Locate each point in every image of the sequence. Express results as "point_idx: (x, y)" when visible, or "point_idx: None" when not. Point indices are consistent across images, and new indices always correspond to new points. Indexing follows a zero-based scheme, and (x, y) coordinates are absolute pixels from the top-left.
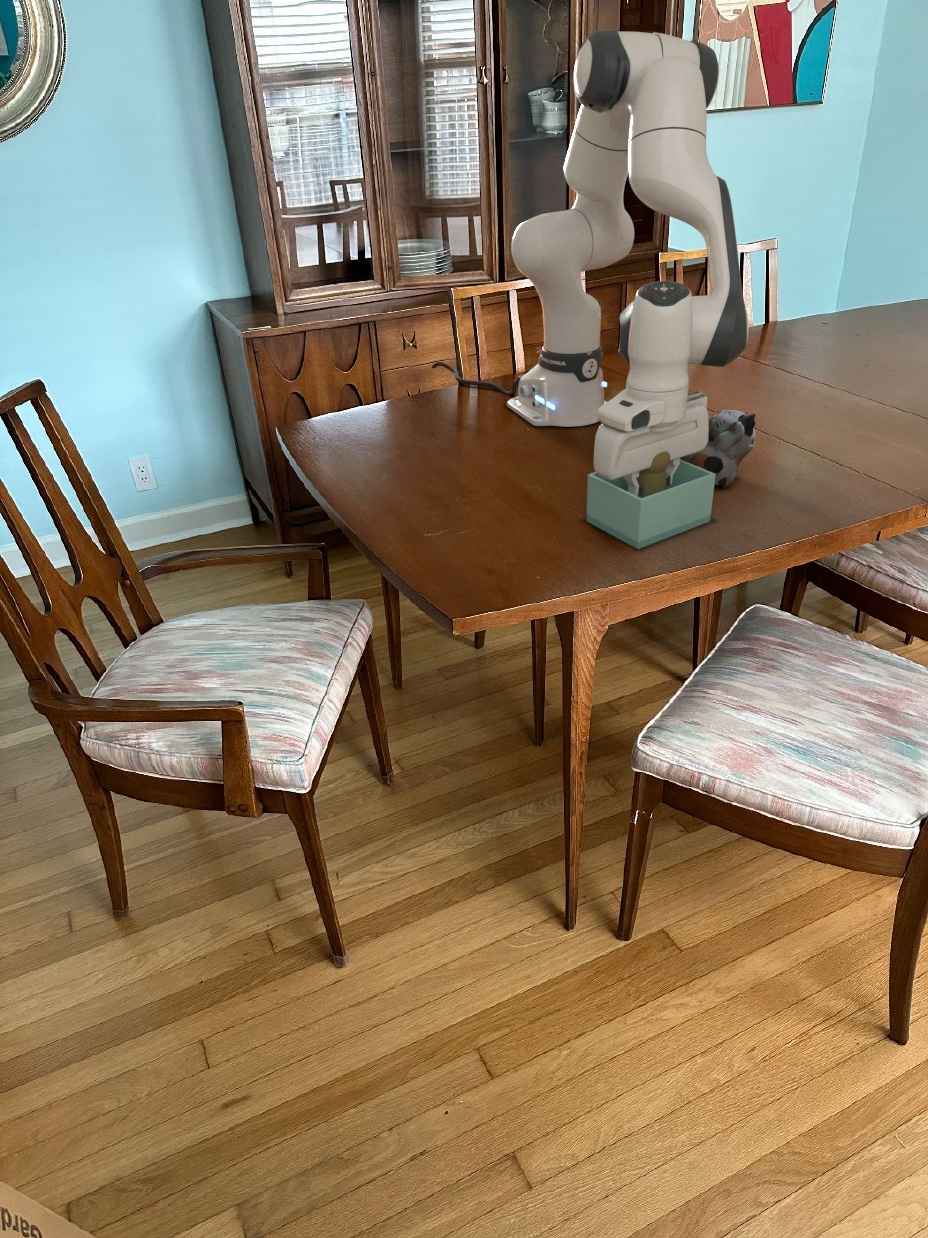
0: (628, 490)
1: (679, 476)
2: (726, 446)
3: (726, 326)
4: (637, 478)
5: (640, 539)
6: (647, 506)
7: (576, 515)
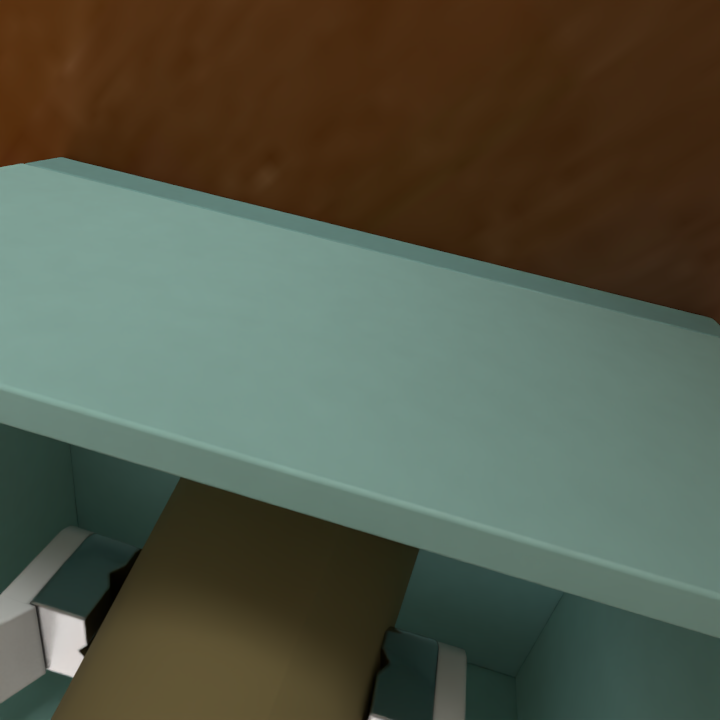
0: (47, 549)
1: (648, 707)
2: None
3: None
4: (84, 656)
5: None
6: None
7: (56, 26)
